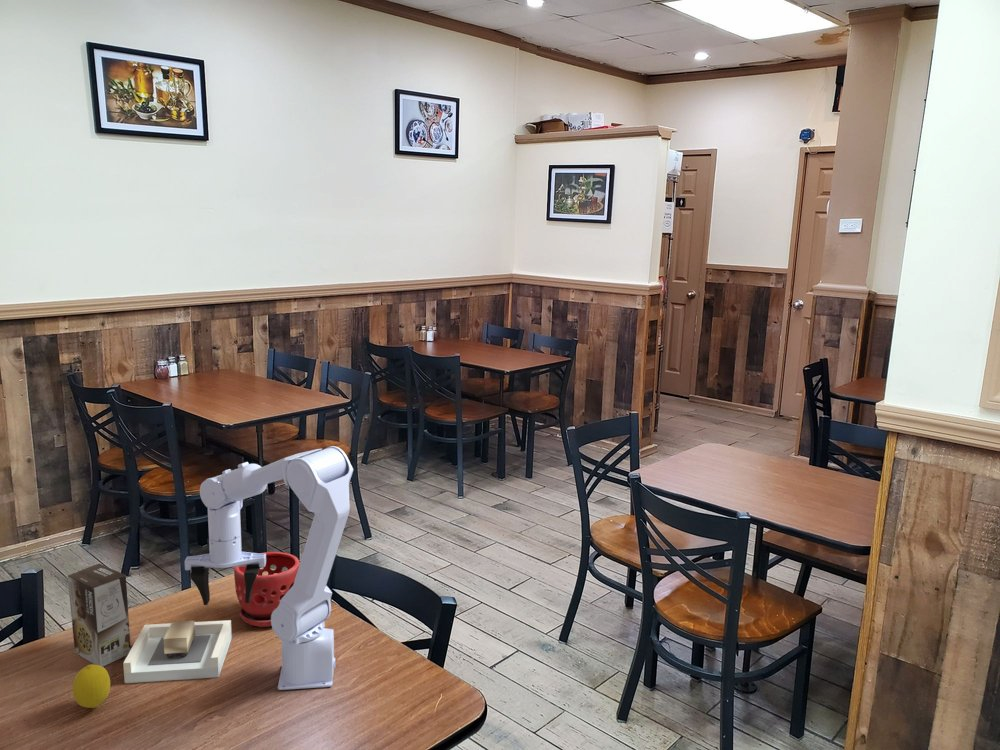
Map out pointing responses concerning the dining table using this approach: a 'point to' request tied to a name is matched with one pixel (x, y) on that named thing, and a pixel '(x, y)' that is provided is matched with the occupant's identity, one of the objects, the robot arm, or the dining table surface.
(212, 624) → the dock
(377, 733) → the dining table surface
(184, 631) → the cream rectangular block
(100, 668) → the lemon
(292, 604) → the robot arm
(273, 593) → the plant pot
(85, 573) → the coffee box
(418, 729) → the dining table surface
